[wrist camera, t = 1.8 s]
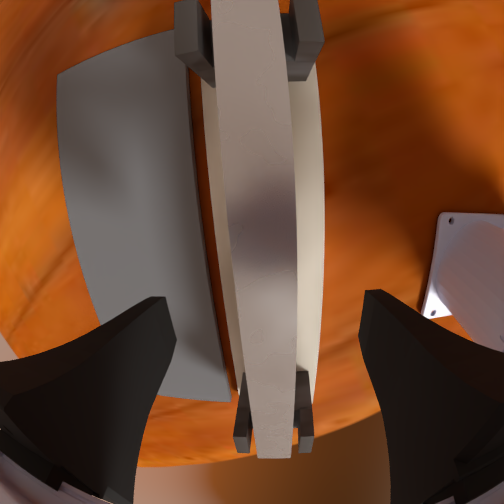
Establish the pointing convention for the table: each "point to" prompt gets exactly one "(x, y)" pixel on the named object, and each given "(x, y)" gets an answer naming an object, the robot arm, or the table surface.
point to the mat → (141, 200)
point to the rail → (260, 207)
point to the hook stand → (306, 187)
